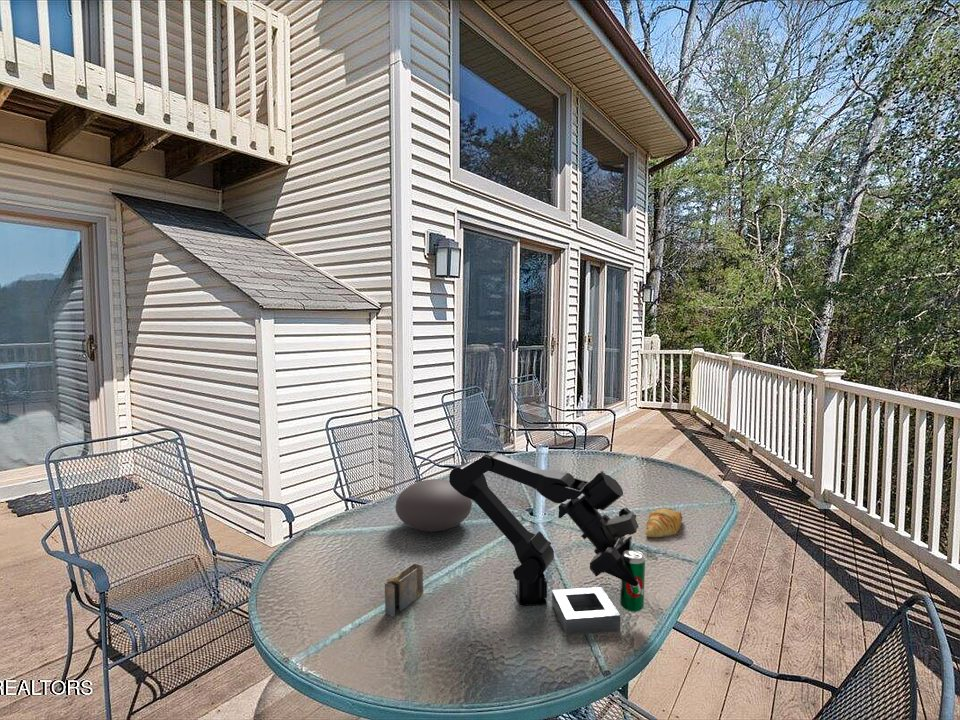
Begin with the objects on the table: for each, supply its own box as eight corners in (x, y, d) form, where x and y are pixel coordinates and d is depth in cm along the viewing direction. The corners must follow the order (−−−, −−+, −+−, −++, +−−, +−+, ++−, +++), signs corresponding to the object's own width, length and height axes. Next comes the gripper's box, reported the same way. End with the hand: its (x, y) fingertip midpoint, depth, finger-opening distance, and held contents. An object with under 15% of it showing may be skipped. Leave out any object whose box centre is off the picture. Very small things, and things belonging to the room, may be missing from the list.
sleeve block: (566, 634, 111) (566, 619, 111) (552, 604, 123) (552, 590, 123) (620, 630, 112) (620, 615, 112) (601, 600, 124) (601, 586, 124)
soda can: (625, 598, 118) (626, 547, 117) (647, 605, 115) (648, 553, 114) (616, 607, 114) (617, 554, 113) (638, 616, 111) (639, 561, 110)
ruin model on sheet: (395, 618, 118) (395, 577, 117) (385, 615, 120) (384, 574, 119) (424, 595, 128) (424, 557, 127) (414, 592, 129) (414, 554, 129)
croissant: (655, 553, 157) (668, 534, 154) (629, 530, 163) (640, 511, 160) (686, 531, 172) (697, 513, 168) (660, 510, 178) (671, 493, 174)
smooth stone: (487, 525, 170) (487, 480, 169) (430, 550, 152) (429, 500, 151) (437, 507, 187) (436, 466, 186) (380, 527, 169) (379, 482, 167)
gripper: (606, 515, 106) (661, 579, 102) (624, 488, 123) (672, 542, 119) (568, 544, 110) (619, 607, 106) (590, 515, 127) (636, 568, 123)
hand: (639, 579), depth 113 cm, fingers closed on soda can, 5 cm apart
